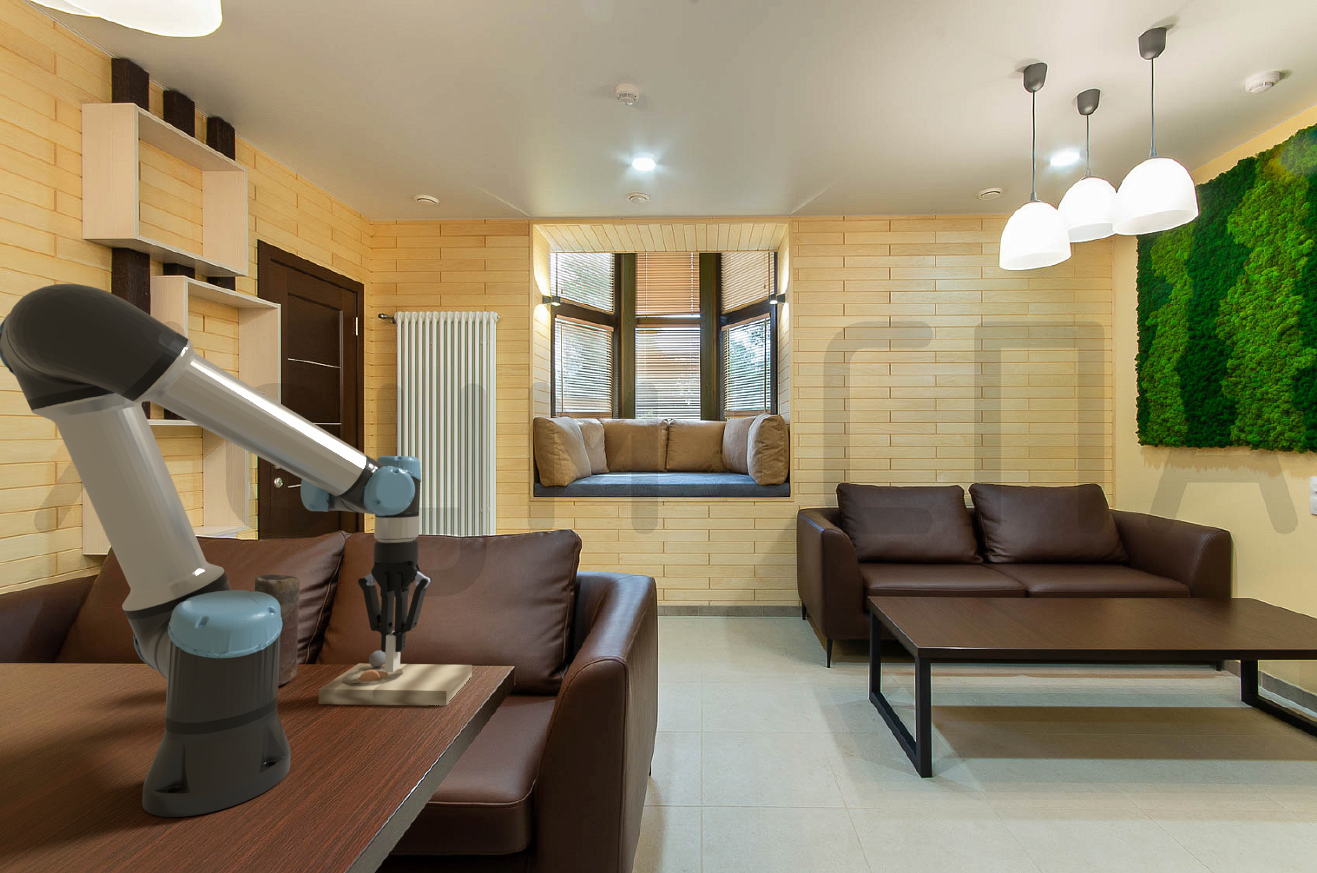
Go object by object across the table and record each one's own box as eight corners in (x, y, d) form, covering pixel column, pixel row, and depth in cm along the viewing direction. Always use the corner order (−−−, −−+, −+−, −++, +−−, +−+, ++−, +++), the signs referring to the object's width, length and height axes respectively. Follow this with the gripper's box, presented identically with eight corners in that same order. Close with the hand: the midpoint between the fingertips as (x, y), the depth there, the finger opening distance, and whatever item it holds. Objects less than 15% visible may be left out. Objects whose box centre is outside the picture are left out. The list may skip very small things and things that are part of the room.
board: (471, 678, 112) (471, 665, 112) (446, 705, 99) (446, 690, 100) (358, 676, 113) (359, 663, 113) (318, 704, 100) (319, 689, 100)
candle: (264, 677, 112) (268, 572, 113) (304, 675, 113) (308, 571, 114) (240, 692, 104) (245, 579, 105) (283, 691, 105) (288, 579, 106)
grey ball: (388, 667, 111) (388, 651, 111) (371, 670, 109) (371, 654, 109) (383, 663, 113) (384, 647, 113) (366, 666, 111) (367, 650, 111)
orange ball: (382, 689, 106) (382, 669, 106) (362, 694, 104) (361, 674, 104) (376, 685, 109) (376, 666, 109) (356, 690, 106) (356, 670, 106)
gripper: (439, 537, 111) (436, 663, 110) (371, 536, 111) (367, 662, 110) (423, 542, 104) (419, 677, 102) (350, 541, 104) (345, 676, 103)
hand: (392, 669), depth 106 cm, fingers closed
